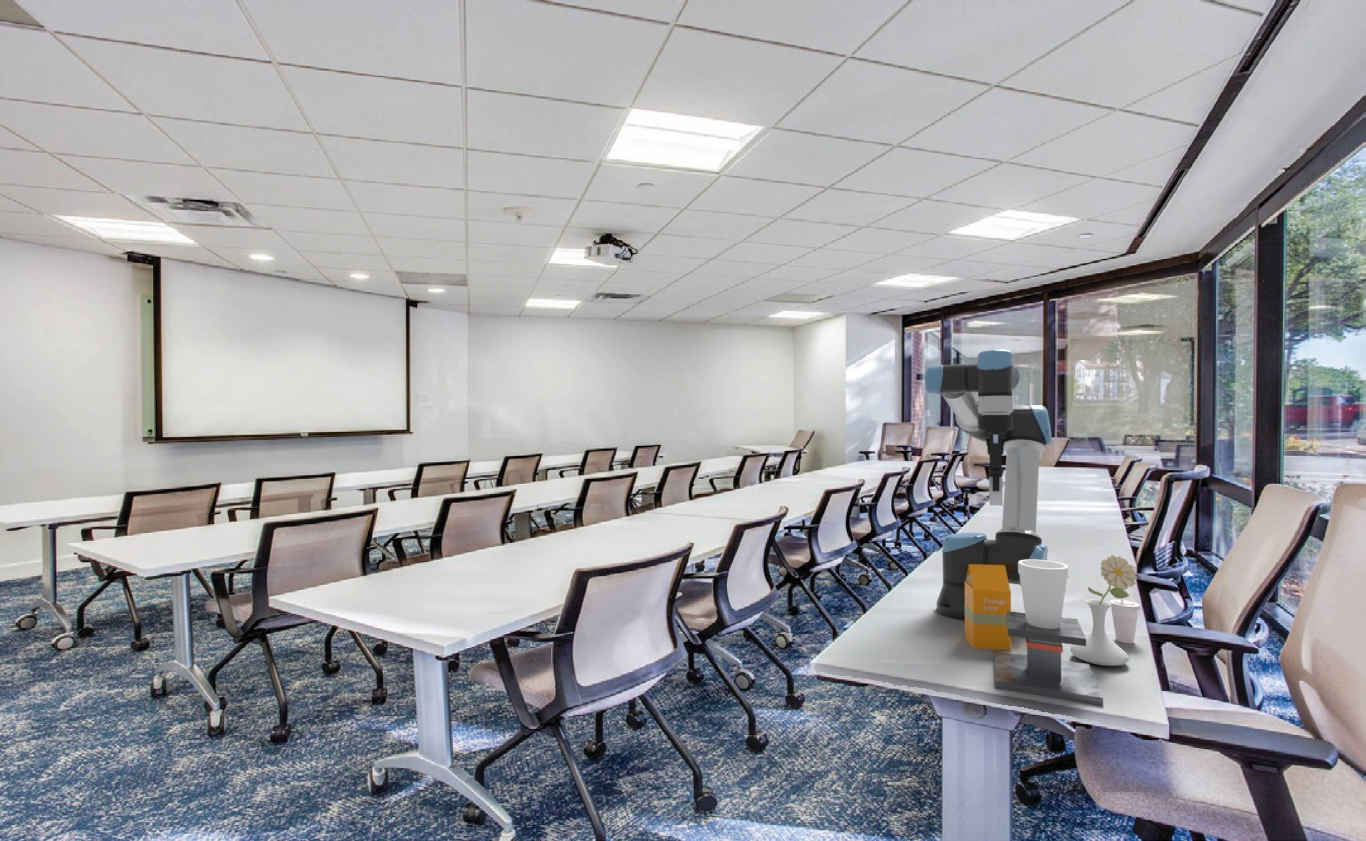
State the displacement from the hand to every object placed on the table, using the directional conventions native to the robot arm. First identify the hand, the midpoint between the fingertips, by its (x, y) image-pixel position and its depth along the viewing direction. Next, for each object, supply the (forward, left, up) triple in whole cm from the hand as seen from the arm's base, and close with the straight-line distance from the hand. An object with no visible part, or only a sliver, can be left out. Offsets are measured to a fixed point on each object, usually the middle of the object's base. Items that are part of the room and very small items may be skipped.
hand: (995, 502), depth 149 cm
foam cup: (+12, +9, -25) cm, 29 cm away
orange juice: (-7, -2, -37) cm, 38 cm away
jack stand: (+12, +9, -37) cm, 40 cm away
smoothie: (-24, +30, -37) cm, 53 cm away
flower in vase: (-5, +22, -37) cm, 43 cm away
